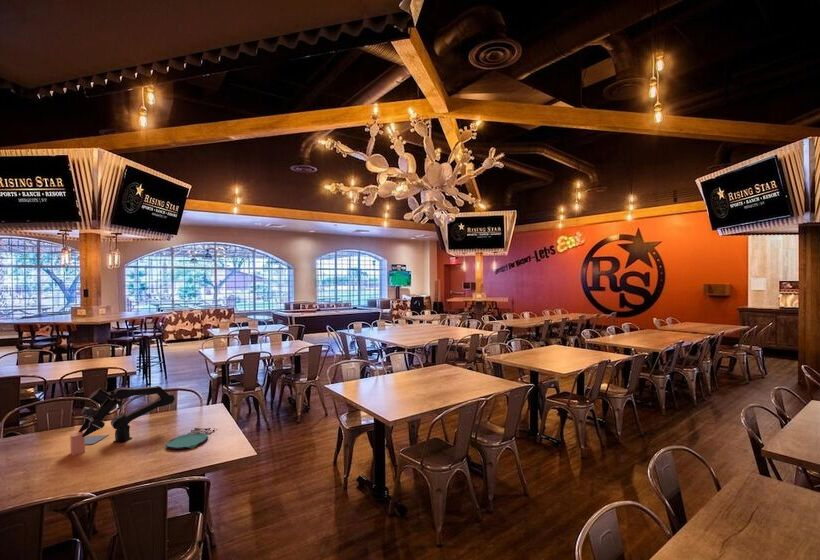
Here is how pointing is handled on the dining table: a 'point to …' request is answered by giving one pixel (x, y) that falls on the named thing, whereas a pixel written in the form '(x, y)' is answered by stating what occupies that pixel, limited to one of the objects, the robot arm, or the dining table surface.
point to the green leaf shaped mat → (188, 440)
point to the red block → (77, 443)
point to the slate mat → (93, 439)
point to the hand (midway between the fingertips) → (80, 434)
